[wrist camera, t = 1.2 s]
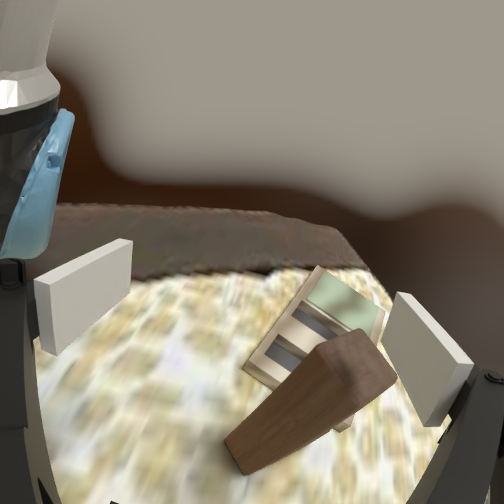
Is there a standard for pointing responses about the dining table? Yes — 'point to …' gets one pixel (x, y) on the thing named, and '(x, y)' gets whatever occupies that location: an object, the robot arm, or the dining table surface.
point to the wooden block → (312, 400)
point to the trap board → (313, 328)
